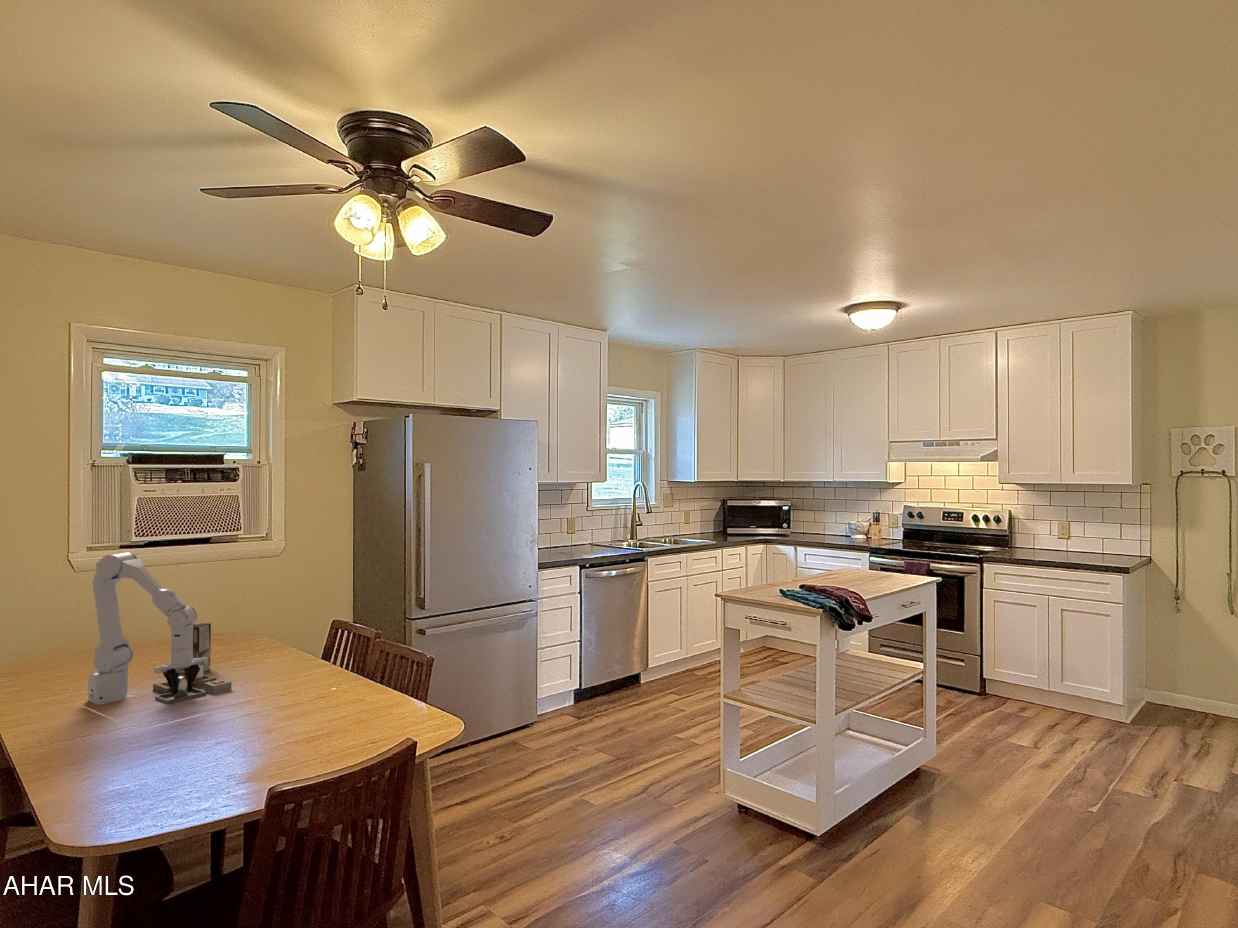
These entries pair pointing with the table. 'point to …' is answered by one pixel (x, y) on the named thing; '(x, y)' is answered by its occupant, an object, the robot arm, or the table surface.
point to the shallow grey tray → (169, 697)
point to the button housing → (217, 686)
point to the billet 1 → (182, 687)
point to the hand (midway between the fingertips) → (181, 692)
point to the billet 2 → (199, 674)
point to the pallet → (164, 686)
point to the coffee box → (201, 643)
